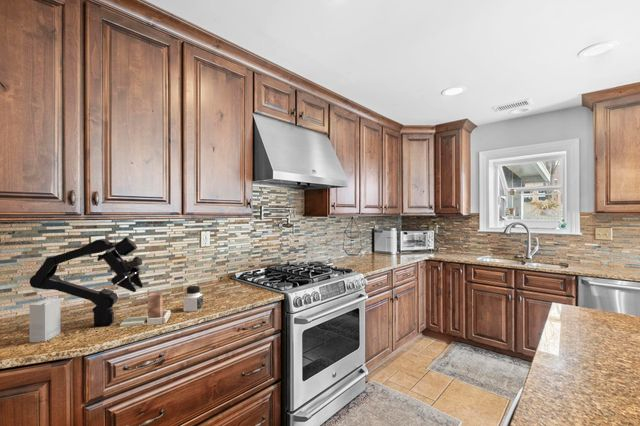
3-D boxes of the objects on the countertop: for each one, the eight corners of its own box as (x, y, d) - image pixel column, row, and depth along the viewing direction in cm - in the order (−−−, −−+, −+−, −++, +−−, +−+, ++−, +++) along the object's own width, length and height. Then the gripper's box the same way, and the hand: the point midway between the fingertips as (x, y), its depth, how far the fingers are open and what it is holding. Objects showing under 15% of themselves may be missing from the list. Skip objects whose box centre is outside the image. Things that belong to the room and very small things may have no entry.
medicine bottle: (197, 311, 153) (197, 287, 153) (183, 311, 153) (183, 287, 154) (203, 307, 160) (202, 284, 160) (189, 307, 161) (189, 284, 161)
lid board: (119, 326, 133) (119, 324, 133) (126, 320, 142) (126, 317, 142) (143, 324, 136) (143, 322, 136) (148, 317, 144) (148, 315, 144)
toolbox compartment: (147, 325, 135) (147, 319, 135) (153, 316, 146) (153, 311, 146) (165, 323, 137) (165, 317, 137) (170, 314, 148) (170, 309, 148)
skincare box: (45, 334, 125) (45, 298, 125) (61, 334, 126) (61, 297, 126) (28, 343, 117) (28, 304, 117) (45, 342, 117) (45, 303, 117)
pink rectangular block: (147, 322, 138) (147, 295, 138) (150, 319, 143) (150, 293, 143) (160, 321, 139) (160, 295, 140) (162, 317, 144) (162, 292, 144)
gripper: (124, 253, 130) (148, 281, 132) (139, 249, 149) (159, 274, 151) (100, 270, 128) (124, 298, 130) (118, 263, 146) (139, 289, 148)
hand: (138, 289), depth 140 cm, fingers open, 9 cm apart
